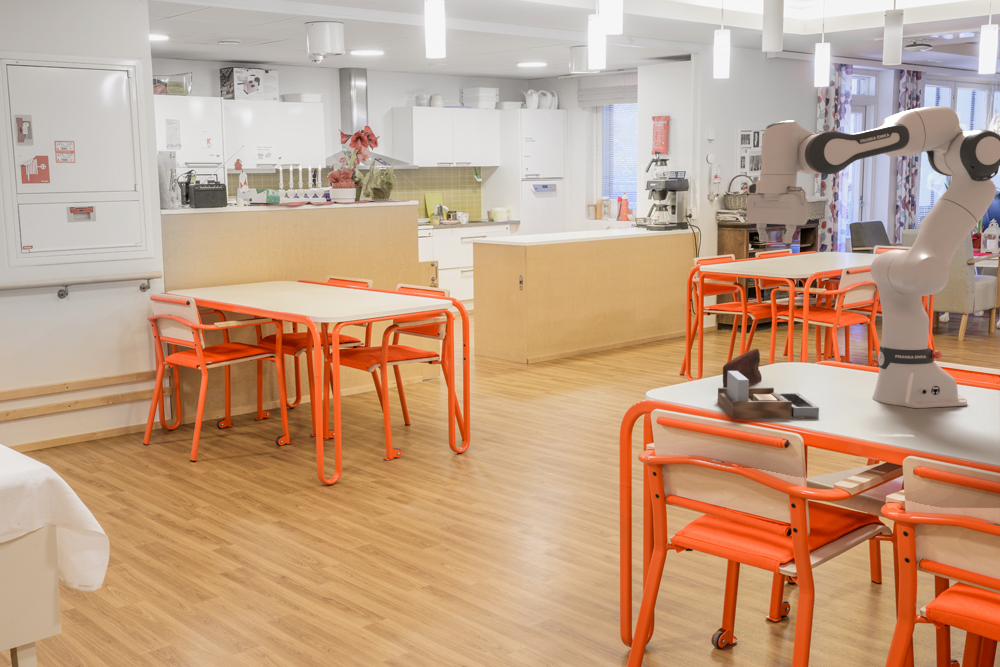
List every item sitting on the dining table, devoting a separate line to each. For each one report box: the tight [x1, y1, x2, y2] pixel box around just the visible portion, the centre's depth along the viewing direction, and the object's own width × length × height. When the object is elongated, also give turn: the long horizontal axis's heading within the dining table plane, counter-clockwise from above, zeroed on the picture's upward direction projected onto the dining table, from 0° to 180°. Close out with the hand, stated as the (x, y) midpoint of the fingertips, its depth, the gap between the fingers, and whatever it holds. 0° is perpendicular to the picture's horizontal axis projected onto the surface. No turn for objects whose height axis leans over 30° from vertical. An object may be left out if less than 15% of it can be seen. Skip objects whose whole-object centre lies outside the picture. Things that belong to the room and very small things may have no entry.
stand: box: [775, 392, 820, 419], centre depth 233 cm, size 6×17×2 cm, turn 179°
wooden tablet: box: [722, 348, 763, 388], centre depth 259 cm, size 26×2×10 cm, turn 145°
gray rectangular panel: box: [727, 371, 750, 401], centre depth 233 cm, size 2×12×9 cm, turn 179°
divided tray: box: [717, 387, 793, 419], centre depth 234 cm, size 14×17×4 cm
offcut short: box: [753, 394, 778, 401], centre depth 233 cm, size 4×7×2 cm, turn 177°
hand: (775, 242), depth 237 cm, fingers open, 8 cm apart
